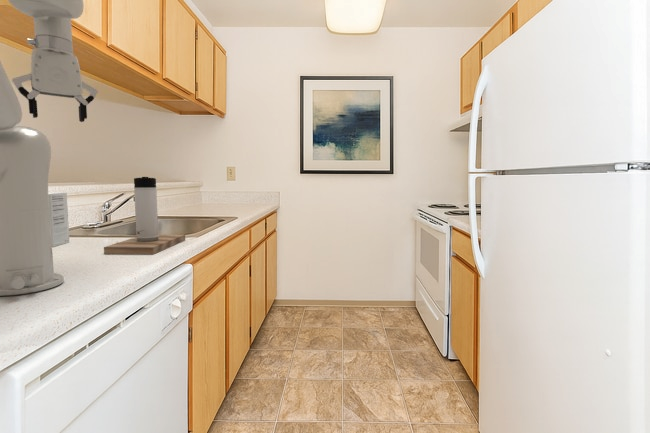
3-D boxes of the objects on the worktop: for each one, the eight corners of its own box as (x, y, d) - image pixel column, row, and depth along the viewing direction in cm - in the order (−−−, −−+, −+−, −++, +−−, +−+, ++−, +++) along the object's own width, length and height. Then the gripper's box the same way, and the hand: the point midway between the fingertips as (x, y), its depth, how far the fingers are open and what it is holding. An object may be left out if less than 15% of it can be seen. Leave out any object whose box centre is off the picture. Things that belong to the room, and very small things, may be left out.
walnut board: (153, 254, 106) (152, 247, 106) (104, 254, 106) (103, 247, 106) (185, 240, 130) (185, 234, 130) (145, 239, 130) (145, 234, 130)
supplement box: (20, 247, 115) (16, 193, 113) (39, 242, 124) (35, 191, 122) (54, 247, 116) (50, 193, 114) (70, 242, 125) (67, 191, 123)
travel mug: (136, 242, 113) (133, 176, 111) (136, 239, 119) (133, 176, 117) (159, 241, 116) (156, 176, 114) (157, 238, 122) (155, 176, 120)
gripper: (9, 35, 83) (15, 113, 85) (98, 52, 95) (102, 121, 97) (8, 44, 89) (14, 117, 91) (92, 59, 100) (96, 124, 102)
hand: (59, 119), depth 94 cm, fingers open, 9 cm apart
